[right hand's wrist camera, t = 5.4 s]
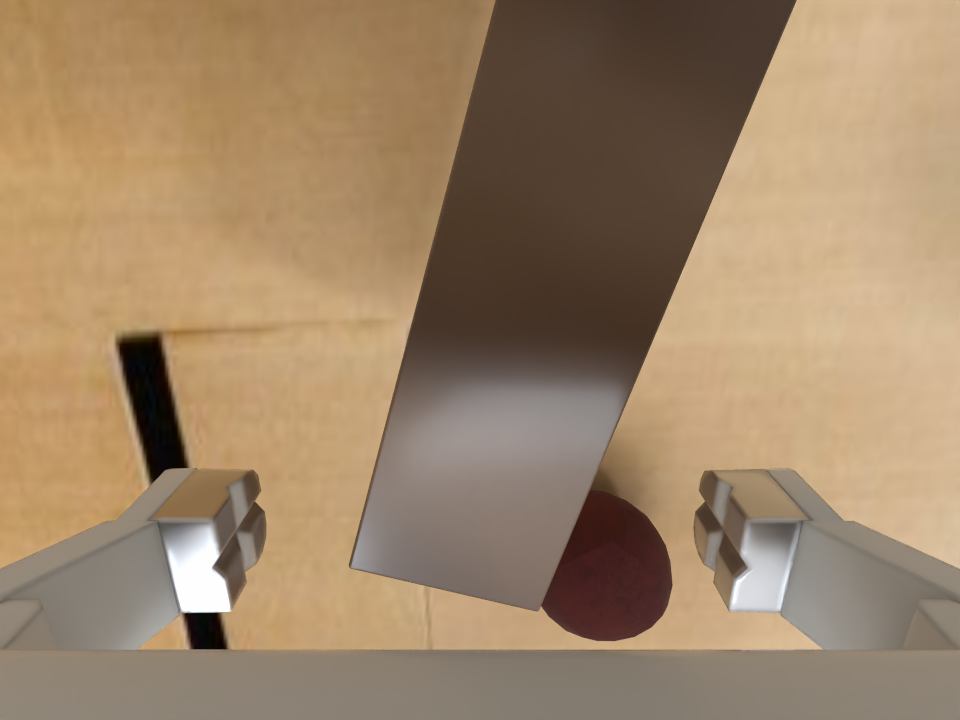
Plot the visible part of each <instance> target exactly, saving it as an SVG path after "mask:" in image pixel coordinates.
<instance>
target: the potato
mask: <svg viewBox="0 0 960 720" xmlns="http://www.w3.org/2000/svg"><path fill="white" fill-rule="evenodd" d="M671 589H672V575H671V564H670V559H669V556H668V552H667V549H666V545H665V543H664V542H663V540H662V538H661V536H660V535H659V533H658V531H657V530H656V528H655V527H654V525H653V524H652V523H651V521H650V520H649V519H648V517H647V516H646V515H645V514H643V513H642V512H641V511H639V510H638V509H637V508H635V507H634V506H633V505H631V504H630V503H629V502H627V501H626V500H623V499H621V498H618V497H616V496H613V495H611V494H608V493H605V492H598V491H589V493H588V495H587V498H586V500H585V502H584V505H583V507H582V510H581V512H580V514H579V517H578V519H577V521H576V524H575V526H574V528H573V531H572V533H571V536H570V538H569V540H568V543H567V545H566V547H565V550H564V552H563V555H562V557H561V559H560V562H559V564H558V566H557V569H556V571H555V573H554V576H553V578H552V581H551V583H550V585H549V588H548V590H547V592H546V595H545V597H544V600H543V602H542V604H541V606H542V608H543V609H544V610H545V612H546V613H547V615H548V616H549V617H550V618H551V619H553V620H554V621H555V622H556V623H557V624H559V625H560V626H561V627H562V628H563V629H565V630H566V631H568V632H571V633H573V634H576V635H578V636H581V637H583V638H587V639H592V640H596V641H617V640H622V639H626V638H631V637H635V636H637V635H639V634H640V633H642V632H644V631H646V630H648V629H649V628H651V627H652V626H653V625H654V624H655V623H656V622H657V621H658V620H659V619H660V618H661V617H662V615H663V614H664V612H665V610H666V608H667V606H668V602H669V598H670V593H671Z"/></svg>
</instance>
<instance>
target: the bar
mask: <svg viewBox="0 0 960 720" xmlns="http://www.w3.org/2000/svg"><path fill="white" fill-rule="evenodd" d="M795 3H796V0H496V1H495V5H494V9H493V13H492V16H491V20H490V24H489V28H488V32H487V36H486V40H485V43H484V47H483V51H482V55H481V59H480V63H479V66H478V70H477V74H476V78H475V82H474V86H473V90H472V93H471V97H470V101H469V105H468V109H467V113H466V116H465V120H464V124H463V128H462V132H461V136H460V140H459V143H458V147H457V151H456V155H455V159H454V163H453V166H452V170H451V174H450V178H449V182H448V186H447V190H446V193H445V197H444V201H443V205H442V209H441V213H440V216H439V220H438V224H437V228H436V232H435V236H434V240H433V243H432V247H431V251H430V255H429V259H428V263H427V266H426V270H425V274H424V278H423V282H422V286H421V290H420V293H419V297H418V301H417V305H416V309H415V313H414V316H413V320H412V324H411V328H410V332H409V336H408V340H407V343H406V347H405V351H404V355H403V359H402V363H401V366H400V370H399V374H398V378H397V382H396V386H395V390H394V393H393V397H392V401H391V405H390V409H389V413H388V416H387V420H386V424H385V428H384V432H383V436H382V440H381V443H380V447H379V451H378V455H377V459H376V463H375V466H374V470H373V474H372V478H371V482H370V486H369V489H368V493H367V497H366V501H365V505H364V509H363V513H362V516H361V520H360V524H359V528H358V532H357V536H356V539H355V543H354V547H353V551H352V555H351V559H350V563H349V567H350V568H351V569H356V570H360V571H364V572H369V573H373V574H377V575H382V576H386V577H390V578H395V579H399V580H403V581H408V582H412V583H416V584H420V585H425V586H429V587H433V588H438V589H442V590H446V591H451V592H455V593H459V594H464V595H468V596H472V597H477V598H481V599H485V600H490V601H494V602H498V603H502V604H507V605H511V606H515V607H520V608H524V609H528V610H533V611H539V609H540V607H541V604H542V602H543V600H544V597H545V595H546V592H547V590H548V588H549V585H550V583H551V581H552V578H553V576H554V573H555V571H556V569H557V566H558V564H559V562H560V559H561V557H562V555H563V552H564V550H565V547H566V545H567V543H568V540H569V538H570V536H571V533H572V531H573V528H574V526H575V524H576V521H577V519H578V517H579V514H580V512H581V510H582V507H583V505H584V502H585V500H586V498H587V495H588V493H589V491H590V488H591V486H592V483H593V481H594V479H595V476H596V474H597V472H598V469H599V467H600V465H601V462H602V460H603V457H604V455H605V453H606V450H607V448H608V446H609V443H610V441H611V438H612V436H613V434H614V431H615V429H616V427H617V424H618V422H619V420H620V417H621V415H622V412H623V410H624V408H625V405H626V403H627V401H628V398H629V396H630V393H631V391H632V389H633V386H634V384H635V382H636V379H637V377H638V375H639V372H640V370H641V367H642V365H643V363H644V360H645V358H646V356H647V353H648V351H649V348H650V346H651V344H652V341H653V339H654V337H655V334H656V332H657V330H658V327H659V325H660V322H661V320H662V318H663V315H664V313H665V311H666V308H667V306H668V303H669V301H670V299H671V296H672V294H673V292H674V289H675V287H676V285H677V282H678V280H679V277H680V275H681V273H682V270H683V268H684V266H685V263H686V261H687V258H688V256H689V254H690V251H691V249H692V247H693V244H694V242H695V240H696V237H697V235H698V232H699V230H700V228H701V225H702V223H703V221H704V218H705V216H706V213H707V211H708V209H709V206H710V204H711V202H712V199H713V197H714V195H715V192H716V190H717V187H718V185H719V183H720V180H721V178H722V176H723V173H724V171H725V168H726V166H727V164H728V161H729V159H730V157H731V154H732V152H733V150H734V147H735V145H736V142H737V140H738V138H739V135H740V133H741V131H742V128H743V126H744V123H745V121H746V119H747V116H748V114H749V112H750V109H751V107H752V105H753V102H754V100H755V97H756V95H757V93H758V90H759V88H760V86H761V83H762V81H763V78H764V76H765V74H766V71H767V69H768V67H769V64H770V62H771V60H772V57H773V55H774V52H775V50H776V48H777V45H778V43H779V41H780V38H781V36H782V33H783V31H784V29H785V26H786V24H787V22H788V19H789V17H790V15H791V12H792V10H793V7H794V5H795Z"/></svg>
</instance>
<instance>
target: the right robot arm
mask: <svg viewBox="0 0 960 720" xmlns="http://www.w3.org/2000/svg"><path fill="white" fill-rule="evenodd" d="M260 492H261V488H260V483H259V478H258V474H257V473H256V472H255V471H254V470H239V469H196V468H186V469H169V470H165V471H164V472H163V473H162V474H161V475H160V476H159V478H158V479H157V480H156V481H155V482H154V483H153V484H152V485H151V486H150V487H149V488H148V489H147V490H146V491H145V492H144V493H143V494H142V495H141V496H140V497H139V498H138V499H137V500H136V501H135V502H134V503H133V504H132V505H131V506H130V507H129V508H128V509H127V510H126V511H125V512H124V513H123V514H122V515H121V516H120V517H119V518H118V519H117V520H116V521H106V522H103V523H101V524H99V525H97V526H94V527H92V528H90V529H88V530H86V531H83V532H81V533H79V534H77V535H74V536H72V537H70V538H68V539H66V540H63V541H61V542H59V543H57V544H55V545H52V546H50V547H48V548H46V549H43V550H41V551H39V552H37V553H35V554H32V555H30V556H28V557H26V558H23V559H21V560H19V561H17V562H15V563H12V564H10V565H8V566H6V567H4V568H1V569H0V720H960V569H958V568H956V567H954V566H952V565H950V564H947V563H945V562H943V561H941V560H939V559H936V558H934V557H932V556H930V555H927V554H925V553H923V552H921V551H919V550H916V549H914V548H912V547H910V546H908V545H905V544H903V543H901V542H899V541H897V540H894V539H892V538H890V537H888V536H885V535H883V534H881V533H879V532H877V531H874V530H872V529H870V528H868V527H866V526H863V525H861V524H859V523H857V522H854V521H844V520H843V519H842V518H841V517H840V516H839V515H838V514H837V513H836V512H835V511H834V510H833V509H832V508H831V507H830V506H829V505H828V504H827V503H826V502H825V501H824V500H823V499H822V498H821V497H820V496H819V495H818V494H817V493H816V492H815V491H814V490H813V489H812V488H811V487H810V486H809V484H808V483H807V482H806V481H805V480H804V479H803V478H802V477H801V476H800V475H799V474H798V473H797V472H796V471H794V470H792V469H789V468H778V469H749V470H710V471H704V473H703V475H702V478H701V481H700V487H699V492H700V493H701V495H702V497H703V498H704V500H705V502H704V503H703V504H702V505H701V506H700V508H699V509H698V510H697V511H696V512H695V520H694V538H695V544H696V548H697V551H698V554H699V556H700V558H701V560H702V562H703V564H704V565H706V566H707V567H709V568H710V569H712V570H713V571H715V576H714V582H713V583H714V584H715V586H716V588H717V590H718V592H719V594H720V595H721V597H722V599H723V601H724V603H725V605H726V606H727V608H728V610H729V611H730V612H766V613H781V616H782V617H783V618H785V619H786V620H787V621H788V622H790V623H791V624H792V625H793V626H795V627H796V628H797V629H799V630H800V631H801V632H802V633H804V634H805V635H806V636H807V637H809V638H810V639H811V640H812V641H814V642H815V643H816V644H817V645H819V646H820V647H821V648H823V649H824V650H136V649H138V648H139V647H140V646H141V645H143V644H144V643H145V642H147V641H148V640H149V639H150V638H152V637H153V636H154V635H155V634H157V633H158V632H159V631H160V630H162V629H163V628H164V627H165V626H167V625H168V624H169V623H171V622H172V621H173V620H174V619H176V618H177V617H178V616H179V613H193V612H228V611H231V610H232V608H233V607H234V605H235V603H236V601H237V599H238V597H239V596H240V594H241V592H242V590H243V588H244V586H245V584H246V583H247V582H246V576H245V571H247V570H248V569H250V568H251V567H253V566H254V565H256V564H257V562H258V560H259V558H260V556H261V554H262V552H263V547H264V543H265V539H266V519H265V512H264V511H263V510H262V509H261V508H260V506H259V505H258V504H257V503H256V502H255V500H256V498H257V497H258V495H259V493H260Z"/></svg>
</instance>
